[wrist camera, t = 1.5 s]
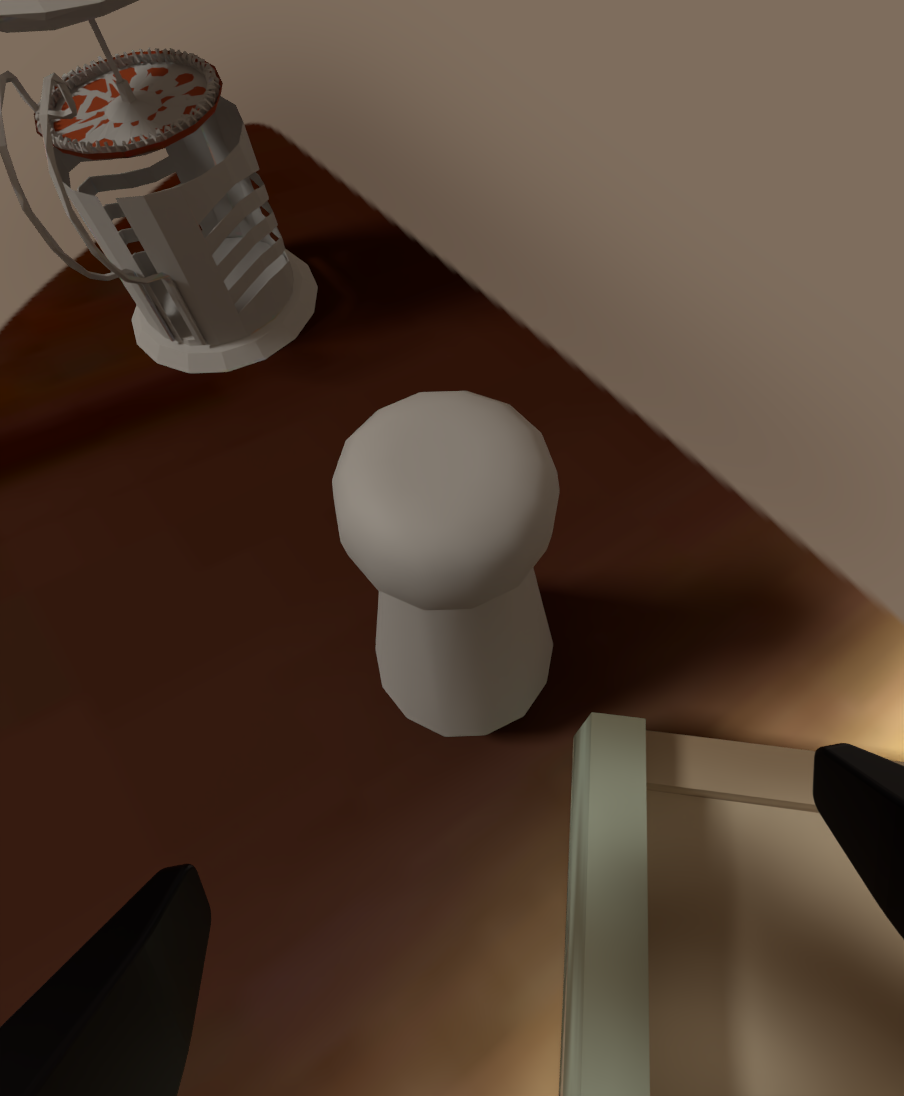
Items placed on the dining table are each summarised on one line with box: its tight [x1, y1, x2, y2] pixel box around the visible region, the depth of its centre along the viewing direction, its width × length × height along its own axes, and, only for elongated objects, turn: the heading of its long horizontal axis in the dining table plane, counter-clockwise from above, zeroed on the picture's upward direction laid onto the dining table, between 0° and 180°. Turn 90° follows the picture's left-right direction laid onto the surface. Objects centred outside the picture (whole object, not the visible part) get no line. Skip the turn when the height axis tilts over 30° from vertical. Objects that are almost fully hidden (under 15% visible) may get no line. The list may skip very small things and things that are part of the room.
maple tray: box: [559, 712, 904, 1096], centre depth 16 cm, size 12×12×4 cm
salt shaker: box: [332, 391, 559, 737], centre depth 16 cm, size 6×6×13 cm
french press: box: [0, 0, 318, 373], centre depth 20 cm, size 10×12×25 cm
